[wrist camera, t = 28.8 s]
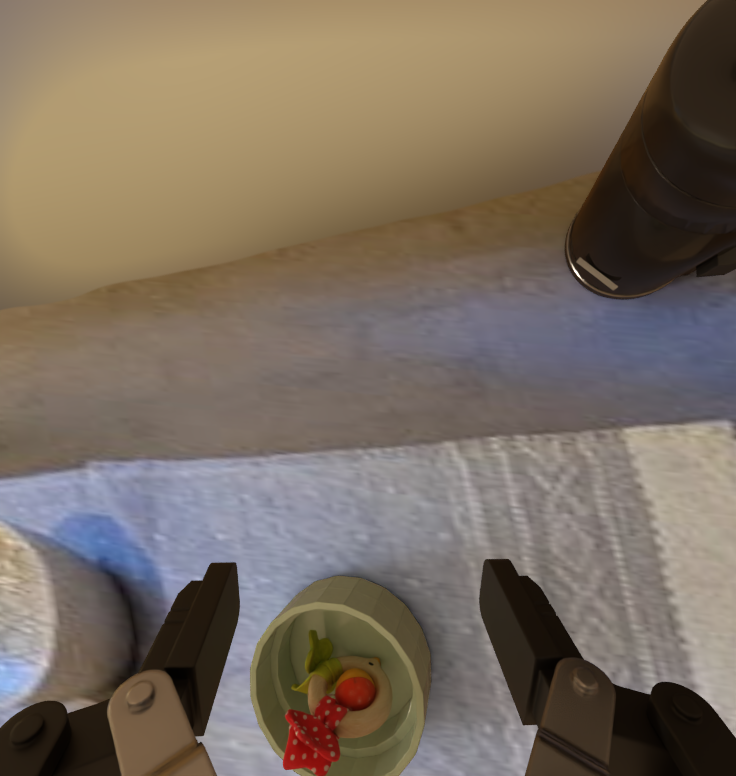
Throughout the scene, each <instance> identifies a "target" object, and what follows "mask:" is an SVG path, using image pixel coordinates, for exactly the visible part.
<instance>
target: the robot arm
mask: <svg viewBox="0 0 736 776" xmlns="http://www.w3.org/2000/svg"><path fill="white" fill-rule="evenodd" d="M565 256H566V261H567V264H568V267H569V269H570V271H571V273H572V274H573V276H574V277H575V278H576V280H577V281H578V282H579V283H580V284H581V285H583V286H584V287H585V288H586V289H588V290H590V291H591V292H593V293H595V294H597V295H600V296H603V297H607V298H612V299H634V298H639V297H643V296H646V295H649V294H651V293H653V292H655V291H657V290H659V289H661V288H663V287H664V286H666V285H667V284H669V283H670V282H672V281H673V280H674V279H675V278H677V277H679V276H682V275H689V274H690V273H692V272H694V271H695V270H696V271H697V277H705V276H716V275H725V274H727V273H729V272H731V271H733V270H735V269H736V0H707V1H706V2H705V3H704V4H703V5H702V6H701V7H700V8H699V9H698V10H697V11H696V12H695V13H694V15H692V17H691V18H690V19H689V20H688V21H687V22H686V24H685V25H684V26H683V28H682V29H681V31H680V32H679V33H678V35H677V37H676V38H675V40H674V41H673V43H672V44H671V46H670V47H669V49H668V51H667V53H666V54H665V56H664V58H663V60H662V62H661V64H660V65H659V67H658V69H657V71H656V73H655V75H654V76H653V78H652V80H651V82H650V83H649V85H648V87H647V89H646V91H645V93H644V94H643V96H642V98H641V100H640V101H639V103H638V105H637V107H636V109H635V111H634V112H633V114H632V116H631V118H630V120H629V122H628V124H627V126H626V127H625V129H624V131H623V133H622V134H621V136H620V138H619V140H618V142H617V144H616V145H615V147H614V149H613V151H612V153H611V154H610V156H609V158H608V160H607V162H606V164H605V165H604V167H603V169H602V171H601V173H600V174H599V176H598V178H597V180H596V182H595V183H594V185H593V187H592V189H591V191H590V193H589V194H588V196H587V198H586V200H585V202H584V203H583V205H582V207H581V209H580V210H579V211H578V213H577V214H576V216H575V217H574V219H573V221H572V223H571V225H570V227H569V229H568V232H567V235H566V240H565ZM479 604H480V612H481V616H482V619H483V622H484V625H485V627H486V630H487V632H488V635H489V638H490V640H491V643H492V645H493V648H494V651H495V653H496V656H497V658H498V661H499V664H500V666H501V669H502V672H503V674H504V677H505V679H506V682H507V685H508V687H509V690H510V692H511V695H512V698H513V700H514V703H515V705H516V708H517V711H518V713H519V716H520V719H521V721H522V724H523V725H537V726H538V728H539V729H538V730H537V733H536V737H535V740H534V744H533V748H532V751H531V755H530V759H529V762H528V766H527V770H526V773H525V776H736V738H735V736H734V735H733V734H732V732H731V731H730V730H729V729H728V727H727V726H726V725H725V723H724V722H723V721H722V719H721V718H720V717H719V715H718V714H717V713H716V712H715V710H714V709H713V708H712V707H711V706H710V705H709V704H708V703H707V702H706V701H705V700H704V699H703V698H702V697H701V696H699V695H698V694H696V693H695V692H693V691H692V690H690V689H688V688H686V687H684V686H682V685H679V684H676V683H672V682H660V683H657V684H656V685H655V686H654V687H653V688H652V691H651V695H649V694H645V693H642V692H638V691H634V690H631V689H627V688H623V687H620V686H617V685H615V684H613V683H612V682H611V680H610V679H609V678H608V677H607V675H606V674H605V673H604V672H603V671H602V670H600V669H599V668H598V667H597V666H595V665H594V664H592V663H590V662H588V661H586V660H584V659H583V658H582V656H581V654H580V653H579V651H578V649H577V648H576V646H575V644H574V643H573V641H572V639H571V638H570V636H569V634H568V633H567V631H566V629H565V628H564V626H563V624H562V623H561V621H560V619H559V617H558V616H556V612H555V611H554V609H553V607H552V606H551V604H549V601H548V599H547V597H546V596H545V594H544V592H543V591H542V589H541V588H540V587H539V586H538V585H537V584H536V583H535V582H534V581H533V580H531V579H530V578H529V577H528V576H519V575H518V573H517V572H516V570H515V568H514V566H513V564H512V563H511V561H510V560H509V559H486V560H485V561H484V565H483V572H482V580H481V588H480V597H479ZM239 609H240V599H239V586H238V574H237V565H236V563H235V562H232V563H211V564H210V565H209V567H208V569H207V572H206V574H205V576H204V578H203V581H191V582H190V583H189V584H188V585H187V586H186V587H185V588H184V589H183V590H182V591H181V592H180V593H178V595H177V597H176V599H175V601H174V603H173V605H172V607H171V611H170V612H169V613H168V615H167V617H166V619H165V623H164V624H163V625H162V627H161V629H160V631H159V633H158V635H157V637H156V639H155V641H154V643H153V645H152V647H151V649H150V651H149V653H148V655H147V657H146V659H145V661H144V663H143V665H142V667H141V669H140V671H139V672H138V674H136V675H134V676H132V677H131V678H129V679H128V680H126V681H125V682H124V683H123V684H122V685H121V686H119V688H118V689H117V690H116V691H115V692H114V694H113V695H112V697H111V698H110V699H108V700H106V701H103V702H101V703H98V704H95V705H92V706H89V707H86V708H83V709H80V710H77V711H74V712H70V713H67V710H66V708H65V706H64V705H63V704H62V703H60V702H57V701H44V702H40V703H36V704H34V705H31V706H29V707H27V708H25V709H23V710H22V711H20V712H19V713H17V714H16V715H14V716H13V717H12V718H10V719H9V720H8V721H7V722H6V723H5V724H4V725H3V726H2V727H1V728H0V776H217V775H216V772H215V770H214V768H213V765H212V763H211V760H210V758H209V756H208V753H207V751H206V749H205V747H204V745H203V744H202V742H200V743H198V742H197V740H196V738H195V736H204V733H205V730H206V726H207V723H208V720H209V716H210V713H211V710H212V706H213V703H214V699H215V696H216V693H217V689H218V686H219V683H220V679H221V676H222V673H223V669H224V666H225V663H226V659H227V656H228V653H229V649H230V646H231V643H232V639H233V636H234V632H235V629H236V626H237V622H238V617H239Z"/></svg>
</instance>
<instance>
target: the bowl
mask: <svg viewBox="0 0 736 776" xmlns="http://www.w3.org/2000/svg"><path fill="white" fill-rule="evenodd" d="M309 630H316V631H317V635H318V639H319V640H320V639H323V638H328V639H329V640H330V641H331V643H332V645H333V652H332V655H331V657H330V658H337V657H342V656H359V657H364V658H374V657H377V658H379V659H380V662H381V668H382V669H383V670H384V672H385V673H386V674H387V676H388V678H389V680H390V683H391V687H392V693H393V700H392V707H391V711H390V714H389V716H388V718H387V720H386V721H385V722H384V724H383V725H382V726H381V727H379V728H378V729H377V730H375V731H374V732H372V733H370V734H368V735H365V736H362V737H358V738H342V737H340V738H339V739H338V743H339V747H340V758H339V760H338V761H336V762H332V763H331V766H330V768H329V770H328V772H327V774H326V775H325V776H399V775H400V774H401V772H402V771H403V770H404V769H405V767H406V766H407V765H408V763H409V762H410V761H411V760H412V758H413V757H414V756H415V754H416V752H417V749H418V745H419V742H420V739H421V735H422V732H423V729H424V724H425V718H426V712H427V706H428V699H429V693H430V687H431V655H430V651H429V648H428V645H427V643H426V640H425V637H424V634H423V631H422V628H421V627H420V625H419V624H418V622H417V621H416V619H415V618H414V616H413V615H412V614H411V612H410V611H409V609H408V608H407V606H406V605H405V604H404V603H403V602H401V601H400V600H399V599H398V598H397V597H395V596H394V595H393V594H392V593H390V592H389V591H388V590H387V589H386V588H384V587H382V586H379V585H377V584H375V583H372V582H370V581H367V580H365V579H363V578H358V577H346V576H334V577H330V578H327V579H323V580H319V581H316V582H313V583H312V584H311V585H309V586H308V587H306V588H305V589H304V590H302V591H301V592H299V593H298V594H297V595H296V596H295V597H294V598H293V599H292V600H291V601H290V603H289V604H288V605H287V606H286V607H285V608H284V609H283V610H282V611H281V612H280V614H279V615H278V616H277V617H276V618H275V619H274V620H273V621H272V622H271V624H270V625H269V627H268V628H267V630H266V631H265V632H264V634H263V635H262V637H261V638H260V640H259V641H258V643H257V646H256V650H255V653H254V657H253V660H252V664H251V667H250V691H251V700H252V704H253V707H254V710H255V714H256V717H257V721H258V724H259V726H260V728H261V730H262V732H263V733H264V735H265V737H266V738H267V740H268V742H269V743H270V745H271V747H272V749H273V750H274V752H275V753H276V754H277V755H278V756H279V757H280V758H281V759H282V760H283V758H284V754H285V750H286V746H287V742H288V737H289V726H290V724H289V723H288V722H287V720H286V718H285V714H286V713H287V711H288V710H289V709H293V710H297V711H302V712H305V713H307V714H311V712H310V709H309V705H308V694H305V693H302V692H299V691H294V690H292V689H291V687H292V685H293V684H298V685H301V684H302V683H303V682H304V681H305V680H306V679H307V678H308V677H309V675H310V674H308V673H307V672H306V670H305V661H306V658H307V655H308V652H309V651H310V644H309V636H308V633H309ZM330 658H329V659H330ZM335 688H336V687H335ZM330 694H335V689H334V691H332V692H331V693H330ZM331 698H334V699H335V696H331ZM293 771H294V772H296V773H297V774H299V775H301V776H317V775H315V774H314V773H313V772H312V771H311V770H310V769H308V768H300V769H293Z"/></svg>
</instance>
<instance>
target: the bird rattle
mask: <svg viewBox="0 0 736 776" xmlns="http://www.w3.org/2000/svg"><path fill="white" fill-rule="evenodd" d="M308 636H309V644H310V651H309V652H308V655H307V658H306V661H305V670H306V672H307V673H308V674H310V675H309V677H308V678H307V679H306V680H305V681H304V682H303V683H302V684H301V685H298V684H293V685H292V687H291V689H292V690H294V691H299V692H302V693H305V694H308V705H309V709H310V712H311V714H307V713H305V712H302V711H297V710H293V709H289V710H288V711H287V713H286V714H285V718H286V720H287V722H288V723H289V724H290V726H289V737H288V742H287V746H286V750H285V754H284V758H283V767H284V769H285V770H293V769H300V768H308V769H310V770H311V771H312V772H313V773H314V774H315V775H317V776H325V775H326V774H327V772H328V770H329V768H330V766H331V763H332V762H336V761H338V760H339V758H340V747H339V743H338V739H339V738H340V737H342V738H358V737H362V736H365V735H368V734H370V733H372V732H374V731H375V730H377V729H378V728H379V727H381V726H382V725H383V724H384V722H385V721H386V720H387V718H388V716H389V714H390V711H391V707H392V700H393V693H392V687H391V683H390V680H389V678H388V676H387V674H386V673H385V672H384V670H383V669H382V668H381V662H380V659H379V658H377V657H374V658H364V657H359V656H342V657H337V658H330V657H331V655H332V652H333V645H332V643H331V641H330V640H329V639H328V638H323V639H320V640H319V639H318V635H317V631H316V630H309V633H308ZM329 658H330V659H329ZM335 687H336V688H335ZM334 689H335V694H330V693H331V692H332V691H334ZM331 696H335V699H334V698H331Z"/></svg>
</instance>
